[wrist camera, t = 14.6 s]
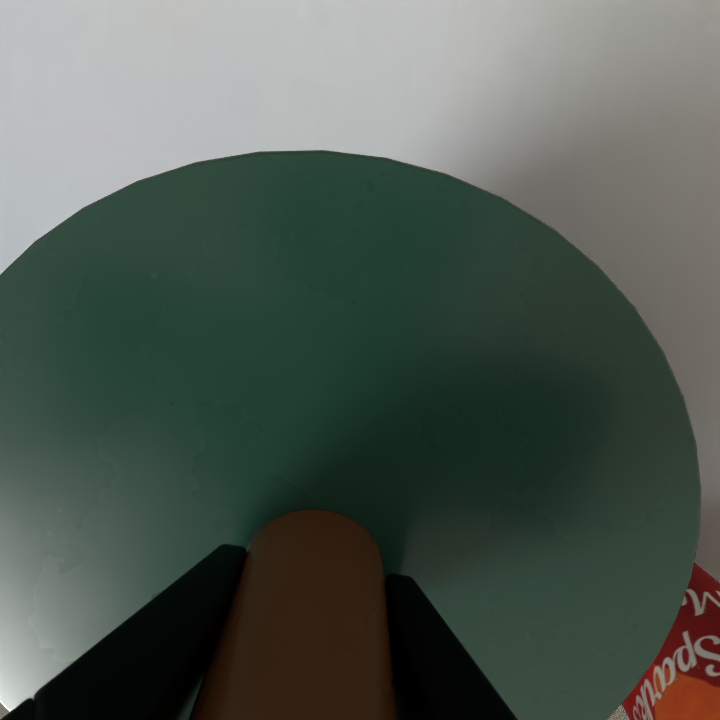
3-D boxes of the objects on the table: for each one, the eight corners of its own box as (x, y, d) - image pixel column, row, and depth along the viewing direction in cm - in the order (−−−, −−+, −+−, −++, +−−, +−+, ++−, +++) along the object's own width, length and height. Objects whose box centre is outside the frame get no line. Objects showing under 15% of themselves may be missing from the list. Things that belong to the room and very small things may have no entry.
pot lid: (674, 720, 10) (969, 1159, 5) (115, 820, 11) (-82, 1299, 6) (638, 71, 7) (1339, -345, 2) (-169, 266, 8) (-1170, 314, 3)
